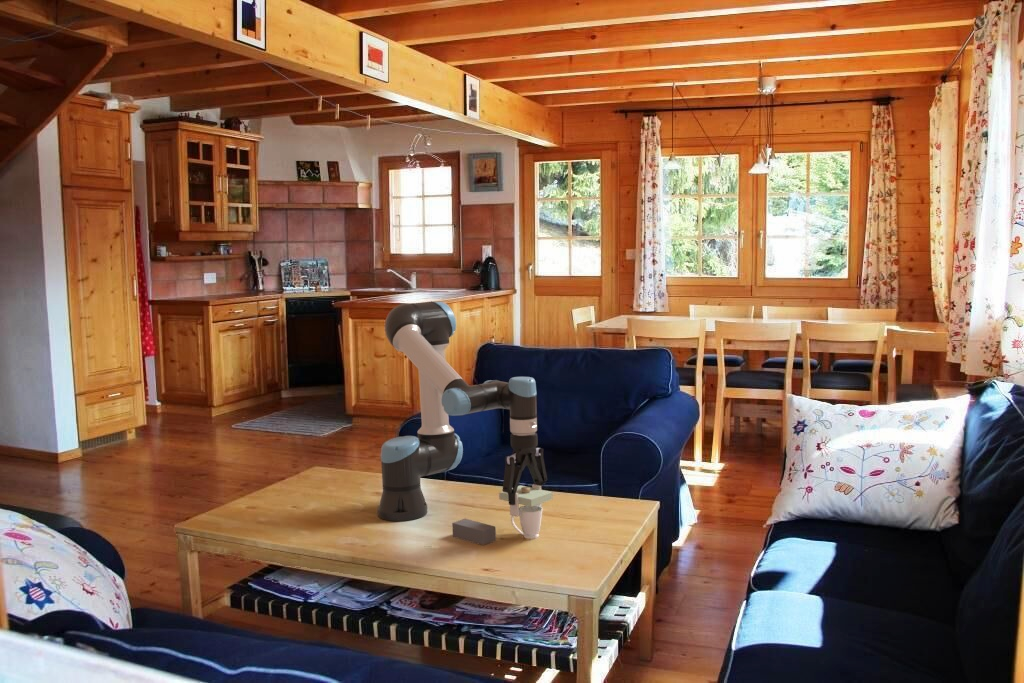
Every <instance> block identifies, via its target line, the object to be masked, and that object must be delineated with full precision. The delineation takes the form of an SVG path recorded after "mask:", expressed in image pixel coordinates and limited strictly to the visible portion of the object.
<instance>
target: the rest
mask: <svg viewBox="0 0 1024 683" xmlns="http://www.w3.org/2000/svg"><path fill="white" fill-rule="evenodd" d="M496 535H497V534H496V526H495V525H491V524H487V523H484V522H479V521H475V520H471V519H468V518H463V519H460V520H457V521H453V522H452V537H453V538H457V539H460V540H463V541H466V542H471V543H473V544H477V545H480V546H486V545H488V544H491V543H493V542H496V541H497V536H496Z"/></svg>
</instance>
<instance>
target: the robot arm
mask: <svg viewBox="0 0 1024 683" xmlns="http://www.w3.org/2000/svg"><path fill="white" fill-rule="evenodd" d="M456 328H457V320H456V316H455V314H454V312H453V310H452V309H451V307H450V305H448V304H447V303H445V302H443V301H422V302H412V303H401V304H399V305H396V306H395V307H393V308H392V309H391V310H390V311H389V312H388V314H387V316H386V318H385V322H384V332H385V335H386V336H385V337H386V338H387V340H388V342H389V343H390V345H391V346H392V347H393V349H395V350H396V351H397V352H402V353H403V354H404V355H405V356H406V358H408V360H410V362H411V363H412V364H413V365H414V366H415V367H416V368H417V370H418V382H419V398H420V401H419V402H420V413H421V414H420V415H421V427H420V428H418V430H417V436H415V435H404V436H396V437H393V438H390V439H388V440H387V441H385V442H383V444H382V445H381V448H380V461H381V462H380V463H381V480H382V491H381V492H382V493H381V497H380V500H379V505H378V507H377V516H378V517H379V518H380V519H382V520H384V521H389V522H390V521H391V522H401V521H402V522H406V521H412V520H417V519H420V518H422V517H423V518H424V516H426V515H427V514H428V504H427V502H426V499H425V496H424V493H423V491H422V486H421V478H422V477H425V476H430V475H434V474H438V473H446V472H448V471H451V470H454V469H455V468H457V466H458V465H459V464H460V463H461V461H462V458H463V455H464V454H463V453H464V452H463V451H464V448H463V442H462V441H461V438H460V436H459V435H458V434H457V433H455V429H454V427H453V426H452V425H450V421H449V420H450V418H449V416H453V417H454V416H465V415H469V414H473V413H478V412H485V411H490V410H496V409H504V410H508V411H509V431H510V433H511V434H510V437H509V438H510V447H511V448H512V450H513V451H512V454H511V455H506V456H505V457H504V462H505V466H504V475H503V481H502V482H503V483H502V491H503V492H507V493H508V498H509V501H508V505H509V515H510V516H514V517H516V518H517V517H519V508H520V504H519V498H518V497H519V495H518V493H516V491H517V488H518V486H519V485H520V484H519V483H520V480H521V476H522V472H523V471H524V470H525V468H526V467H527V469H528V471H529V473H530V475H531V477H532V481H533V484H532V487H531V488H535V489H540V490H543V486H545V485H546V482H547V480H548V475H547V471H546V470H547V469H546V464H545V458H544V448H541V447H538V446H539V445H538V444H539V443H538V442H539V441H538V433H537V431H538V415H537V413H538V412H537V410H538V409H537V405H538V404H537V394H538V393H537V384H536V383H537V382H536V380H535V378H534V377H532V376H531V377H530V376H514V377H511V378H510V379H509V380H508V382H506V381H500V380H498V379H493V380H491V379H490V380H486V381H484V382H483V383H480V384H474V385H470V384H468V383H467V382H466V381H465V380H464V378H462V376H461V375H460V374H459V373H458V372H457V371H456V370H455V369H454V368H453V366H452V365H450V364H449V362H448V361H447V360H446V349H447V347H448V346H449V345H450V338H451V337H453V336H454V334H455V332H456ZM512 488H513V489H512ZM542 504H543V503H541V504H538V506H540V507H542V508H543V505H542Z"/></svg>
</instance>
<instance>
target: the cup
mask: <svg viewBox="0 0 1024 683" xmlns="http://www.w3.org/2000/svg"><path fill="white" fill-rule="evenodd" d="M542 516H543V506H542V507H540V506H538V505H535V506H532V507H530V506H526V505H522V506H519V516H518V517H519V521H520V523H519V524H520V526H521V529H520V528H519V527H518V526H517V525H516V523H515V521H514V520H515V516H512V515H510V518H511V520H510V521H511V525H512V526H513V528H514V529H515V530H516V532H518V533H519V534H520V535H522V536H523V538H525V539H527V540H528V539H529V540H531V539H532V540H533V539H538V538H539V537H540V534H539V533H540V530H541V524H542Z"/></svg>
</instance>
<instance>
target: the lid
mask: <svg viewBox="0 0 1024 683" xmlns="http://www.w3.org/2000/svg"><path fill="white" fill-rule="evenodd" d="M512 489H513V488H512ZM516 493H518V495H519V497H518V498H519V505H522V506H530V507H532V506H535V505H538V504H541V503H542V504H543V503H546V502H549V501H551V500H553V499H554V498H553V491H549V490H545V489H542V490H540V489H535V488H532V487H530V486H525V485H520V484H519V485H518V488H517V491H516ZM498 494H499V496H498V497H499V498H498V499H499V500H502V501H505V502H509V498H508V493H507V492H503V490H502V491H499V492H498Z"/></svg>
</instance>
